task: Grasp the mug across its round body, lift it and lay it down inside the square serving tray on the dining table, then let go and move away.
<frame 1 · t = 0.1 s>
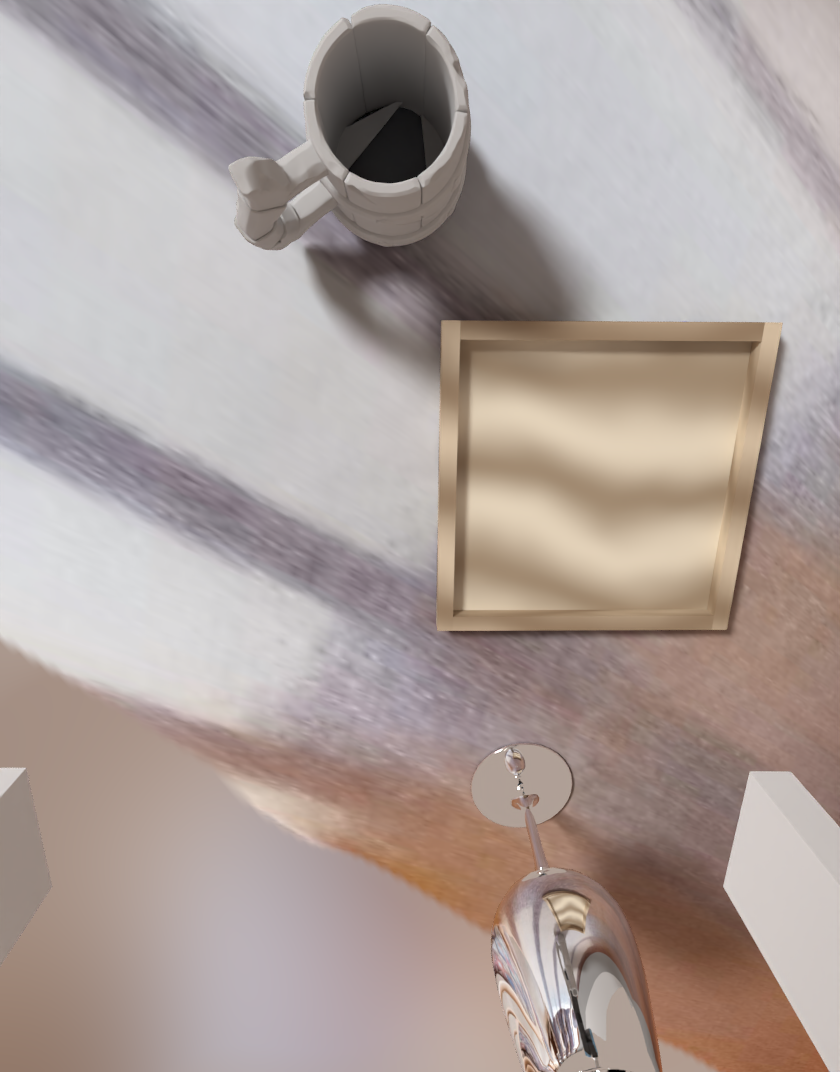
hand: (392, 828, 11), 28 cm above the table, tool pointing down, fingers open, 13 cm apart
wineglass: (520, 782, 45), on the table
square serving tray: (589, 482, 38), on the table
mug: (360, 193, 33), on the table
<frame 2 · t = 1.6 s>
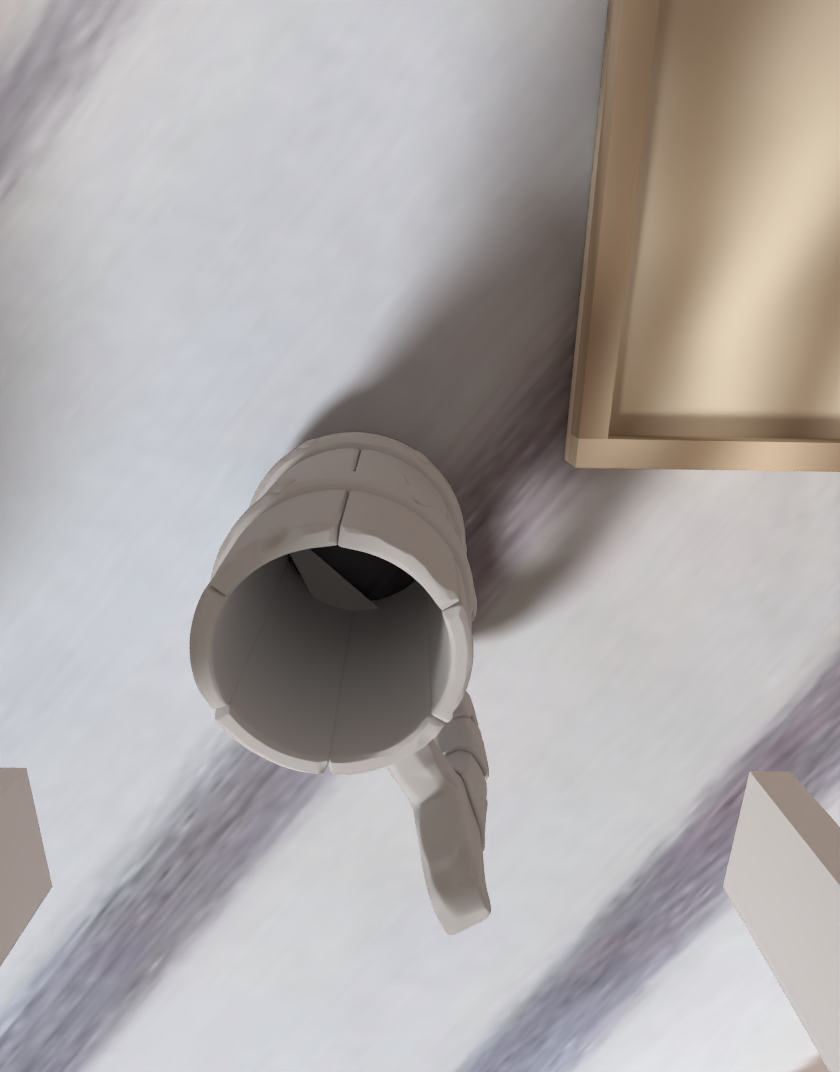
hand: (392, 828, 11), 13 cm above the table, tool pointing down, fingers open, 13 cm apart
mug: (386, 569, 24), on the table
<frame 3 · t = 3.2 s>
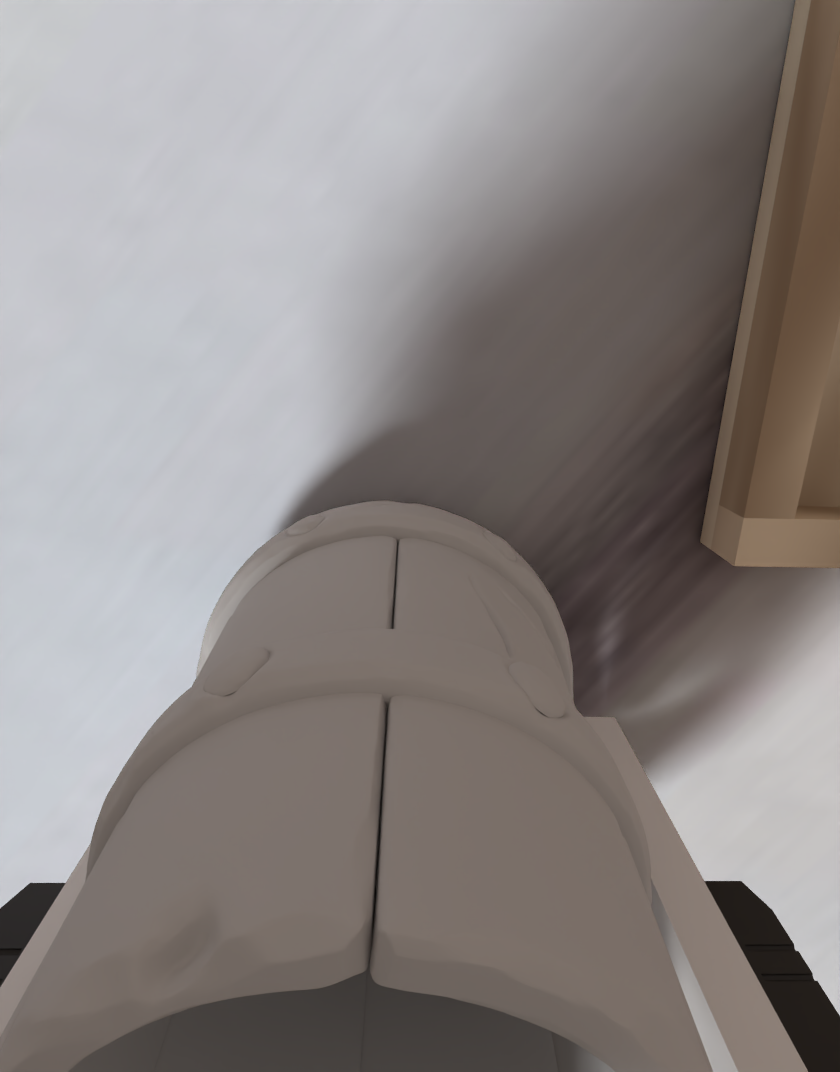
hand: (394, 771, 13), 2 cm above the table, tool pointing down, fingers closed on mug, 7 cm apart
mug: (431, 703, 15), on the table, touching gripper
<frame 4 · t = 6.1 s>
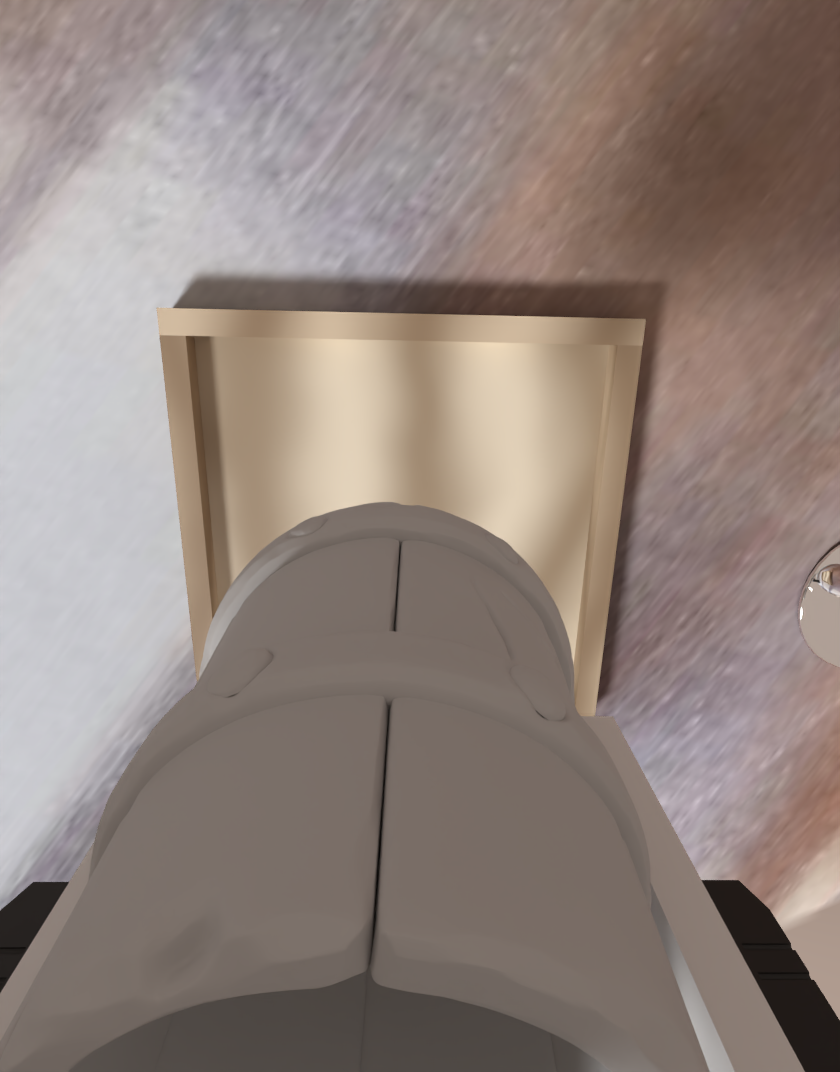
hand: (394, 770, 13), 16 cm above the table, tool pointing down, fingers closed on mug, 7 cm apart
square serving tray: (401, 534, 28), on the table
mug: (432, 704, 15), point 14 cm above the table, touching gripper
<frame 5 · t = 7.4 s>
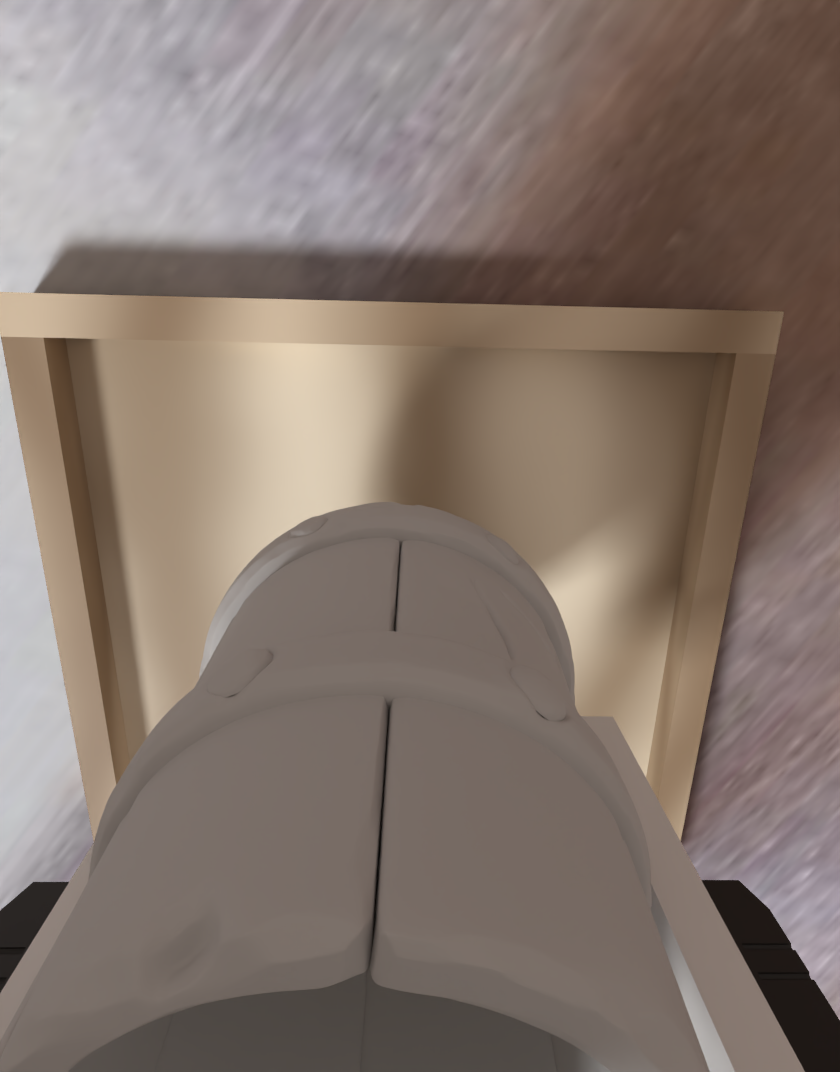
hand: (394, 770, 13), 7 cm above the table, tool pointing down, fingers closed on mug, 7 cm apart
square serving tray: (394, 630, 19), on the table
mug: (433, 704, 15), point 4 cm above the table, touching gripper
when the fingers open (4 cm above the table, at t = 8.7 s): mug stays where it is, resting on square serving tray.
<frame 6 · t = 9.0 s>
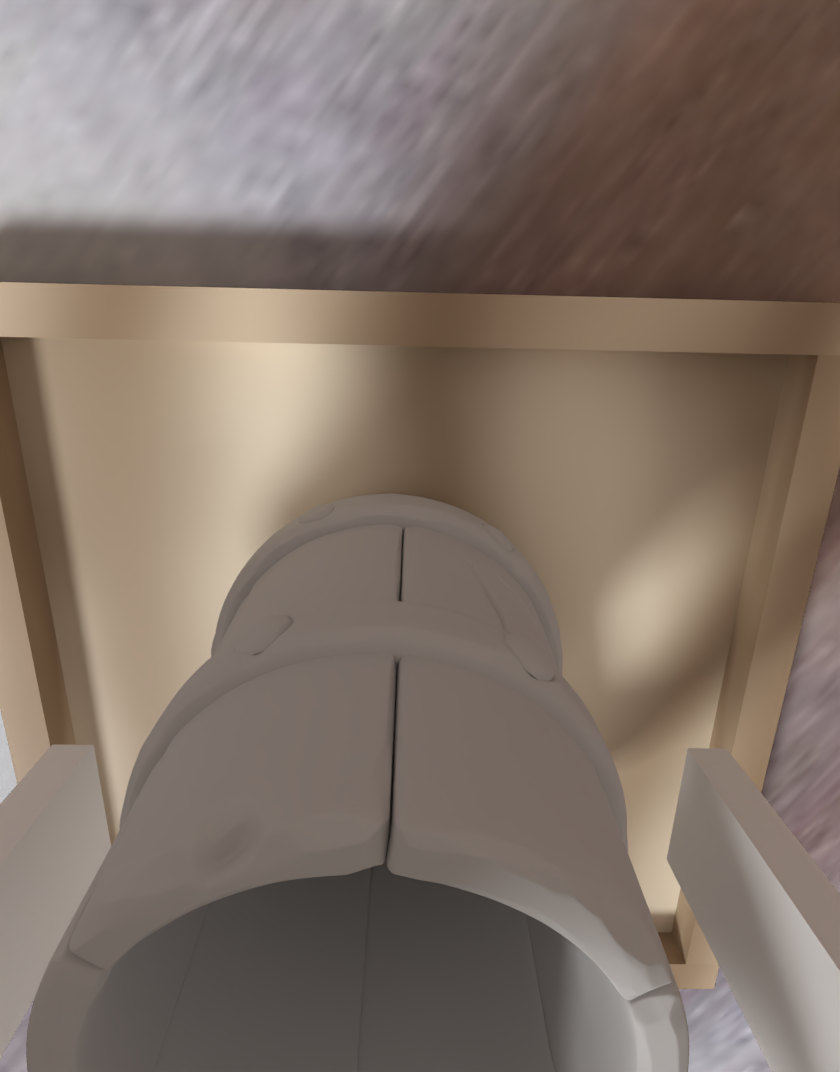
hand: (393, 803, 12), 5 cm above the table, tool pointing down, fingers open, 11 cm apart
square serving tray: (397, 678, 16), on the table
mug: (428, 687, 16), resting on square serving tray
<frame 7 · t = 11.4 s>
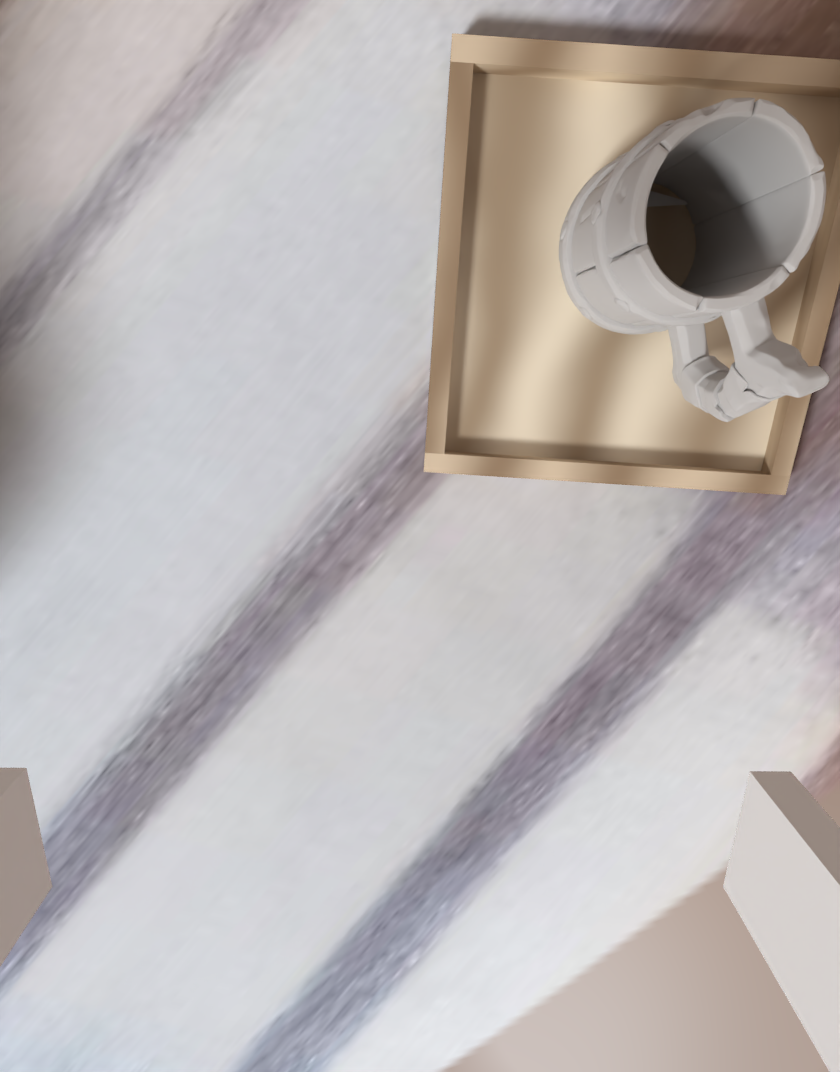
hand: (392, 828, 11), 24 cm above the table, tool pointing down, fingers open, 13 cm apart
square serving tray: (626, 290, 30), on the table
mug: (644, 292, 30), resting on square serving tray
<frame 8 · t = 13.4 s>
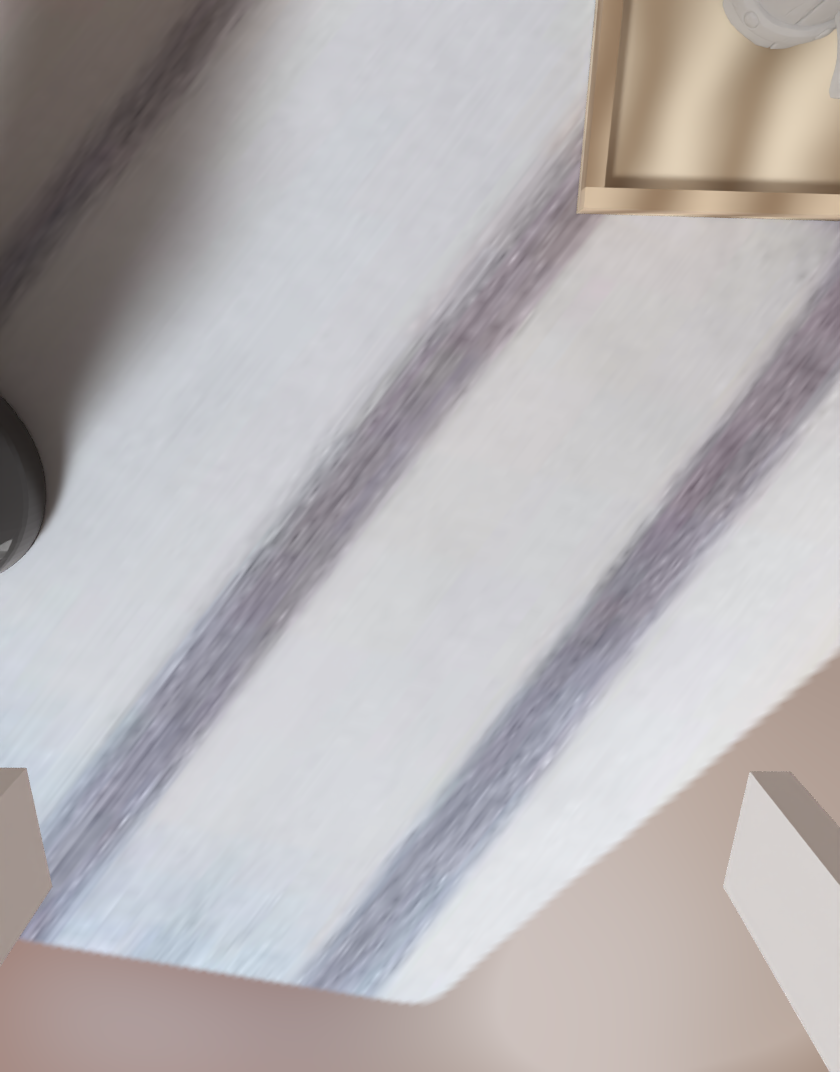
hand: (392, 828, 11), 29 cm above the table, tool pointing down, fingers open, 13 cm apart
square serving tray: (777, 13, 31), on the table
mug: (796, 12, 31), resting on square serving tray
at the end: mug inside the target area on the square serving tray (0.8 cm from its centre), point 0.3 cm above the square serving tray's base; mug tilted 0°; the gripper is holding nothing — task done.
